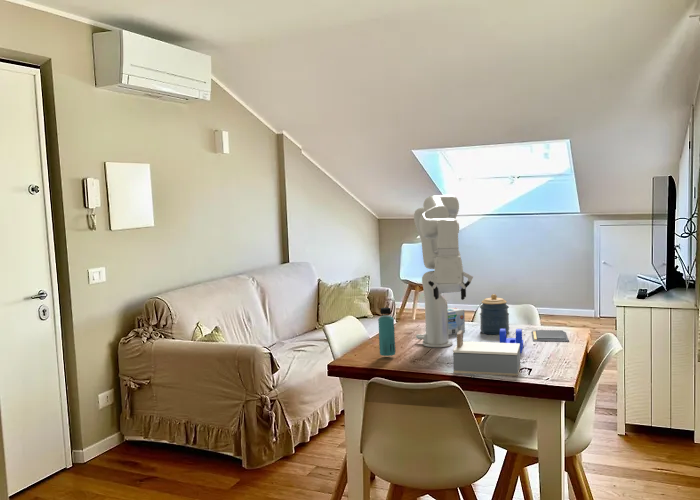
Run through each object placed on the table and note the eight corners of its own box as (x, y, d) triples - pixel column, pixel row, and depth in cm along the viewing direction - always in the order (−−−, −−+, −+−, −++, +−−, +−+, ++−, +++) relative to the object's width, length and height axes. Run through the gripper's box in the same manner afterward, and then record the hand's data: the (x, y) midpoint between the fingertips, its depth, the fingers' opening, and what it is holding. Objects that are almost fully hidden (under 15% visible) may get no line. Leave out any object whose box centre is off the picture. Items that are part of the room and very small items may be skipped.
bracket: (521, 353, 237) (521, 331, 236) (499, 352, 240) (499, 330, 239) (523, 343, 254) (523, 322, 253) (503, 342, 257) (503, 321, 256)
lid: (453, 352, 214) (452, 336, 213) (459, 343, 227) (459, 328, 227) (517, 355, 206) (516, 338, 206) (520, 345, 220) (519, 329, 219)
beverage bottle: (391, 360, 235) (389, 309, 233) (376, 358, 238) (374, 308, 237) (398, 356, 240) (397, 306, 239) (384, 354, 244) (382, 306, 242)
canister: (476, 333, 275) (475, 295, 273) (485, 328, 286) (484, 291, 284) (504, 336, 268) (503, 296, 267) (513, 330, 279) (512, 292, 278)
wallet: (569, 339, 251) (531, 338, 256) (569, 343, 251) (531, 343, 256) (566, 329, 270) (531, 328, 275) (566, 333, 270) (531, 332, 275)
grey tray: (453, 372, 214) (453, 353, 214) (460, 362, 228) (459, 344, 227) (517, 376, 207) (517, 356, 206) (520, 365, 220) (520, 346, 220)
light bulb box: (447, 335, 274) (446, 312, 273) (438, 333, 280) (437, 310, 279) (465, 332, 279) (465, 309, 278) (456, 329, 285) (455, 307, 284)
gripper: (422, 253, 220) (424, 300, 221) (470, 253, 214) (471, 301, 215) (427, 252, 227) (429, 297, 228) (473, 251, 221) (475, 297, 222)
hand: (449, 299), depth 222 cm, fingers open, 9 cm apart
